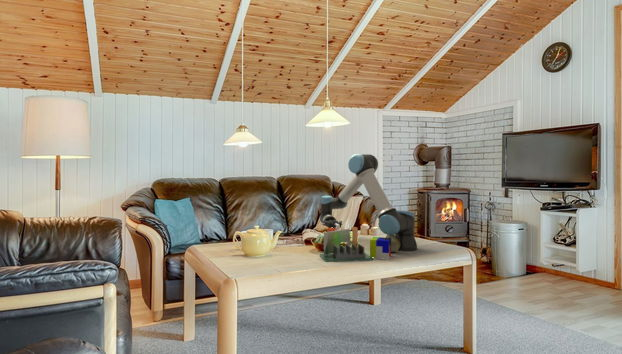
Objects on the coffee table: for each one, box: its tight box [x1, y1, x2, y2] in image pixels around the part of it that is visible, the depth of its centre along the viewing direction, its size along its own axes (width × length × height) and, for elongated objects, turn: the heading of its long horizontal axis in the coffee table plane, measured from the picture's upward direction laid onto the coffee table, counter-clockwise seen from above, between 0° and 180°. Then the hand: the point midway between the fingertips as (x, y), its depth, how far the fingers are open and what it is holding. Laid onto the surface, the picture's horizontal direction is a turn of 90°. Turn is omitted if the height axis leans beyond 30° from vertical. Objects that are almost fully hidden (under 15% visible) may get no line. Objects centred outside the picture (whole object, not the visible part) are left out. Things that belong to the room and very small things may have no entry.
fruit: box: [385, 234, 400, 253], centre depth 244 cm, size 10×9×12 cm
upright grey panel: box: [323, 228, 351, 254], centre depth 236 cm, size 20×2×12 cm, turn 132°
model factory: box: [319, 226, 374, 263], centre depth 227 cm, size 26×15×16 cm, turn 100°
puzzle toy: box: [369, 236, 392, 260], centre depth 231 cm, size 10×10×10 cm
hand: (338, 227), depth 246 cm, fingers closed
